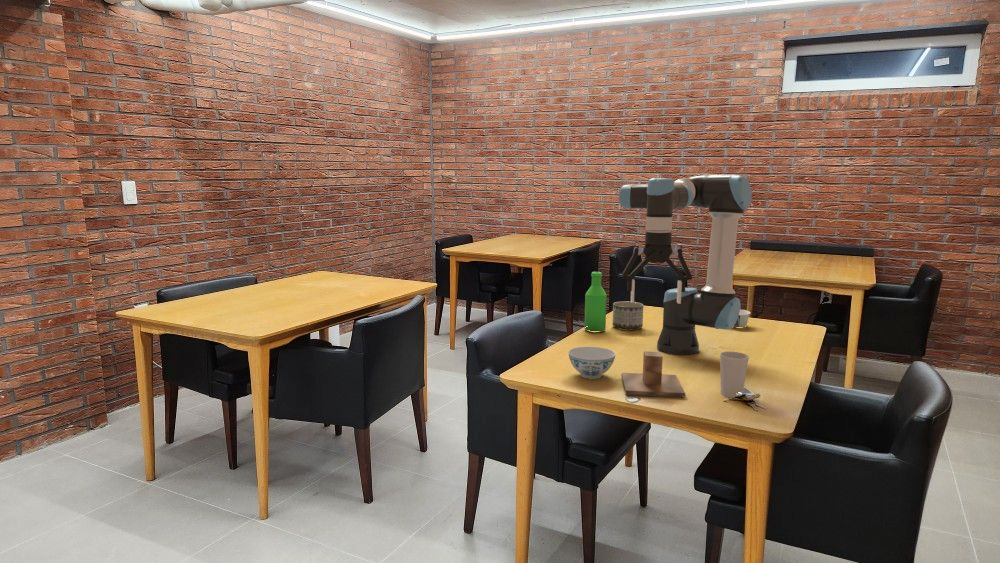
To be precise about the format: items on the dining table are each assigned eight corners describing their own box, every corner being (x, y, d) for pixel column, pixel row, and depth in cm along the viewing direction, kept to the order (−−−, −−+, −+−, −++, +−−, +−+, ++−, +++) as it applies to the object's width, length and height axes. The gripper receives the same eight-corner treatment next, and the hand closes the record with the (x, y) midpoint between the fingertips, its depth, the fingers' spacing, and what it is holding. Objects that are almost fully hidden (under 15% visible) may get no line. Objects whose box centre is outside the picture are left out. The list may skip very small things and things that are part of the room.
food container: (753, 329, 261) (755, 314, 260) (725, 329, 261) (726, 314, 260) (743, 323, 273) (744, 308, 272) (716, 322, 273) (717, 308, 272)
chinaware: (603, 386, 188) (604, 362, 187) (559, 377, 196) (560, 354, 195) (621, 373, 201) (622, 350, 199) (579, 366, 209) (580, 344, 207)
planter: (611, 324, 270) (612, 300, 268) (641, 325, 268) (642, 301, 267) (613, 331, 258) (613, 306, 256) (643, 332, 256) (644, 307, 254)
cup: (712, 389, 185) (715, 351, 183) (738, 389, 186) (741, 351, 184) (724, 399, 177) (727, 359, 175) (751, 398, 178) (754, 358, 176)
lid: (675, 377, 195) (677, 347, 193) (684, 396, 178) (686, 363, 176) (621, 375, 197) (622, 345, 195) (625, 393, 180) (626, 360, 178)
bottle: (582, 332, 255) (583, 272, 251) (587, 327, 263) (588, 270, 259) (603, 334, 252) (604, 274, 248) (607, 329, 260) (609, 271, 256)
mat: (674, 380, 194) (674, 378, 194) (682, 397, 179) (682, 395, 178) (622, 377, 196) (622, 376, 196) (627, 395, 180) (627, 393, 180)
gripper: (699, 230, 182) (695, 300, 185) (614, 229, 185) (612, 298, 188) (705, 233, 174) (700, 305, 178) (616, 231, 177) (613, 303, 181)
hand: (655, 302), depth 183 cm, fingers open, 13 cm apart
